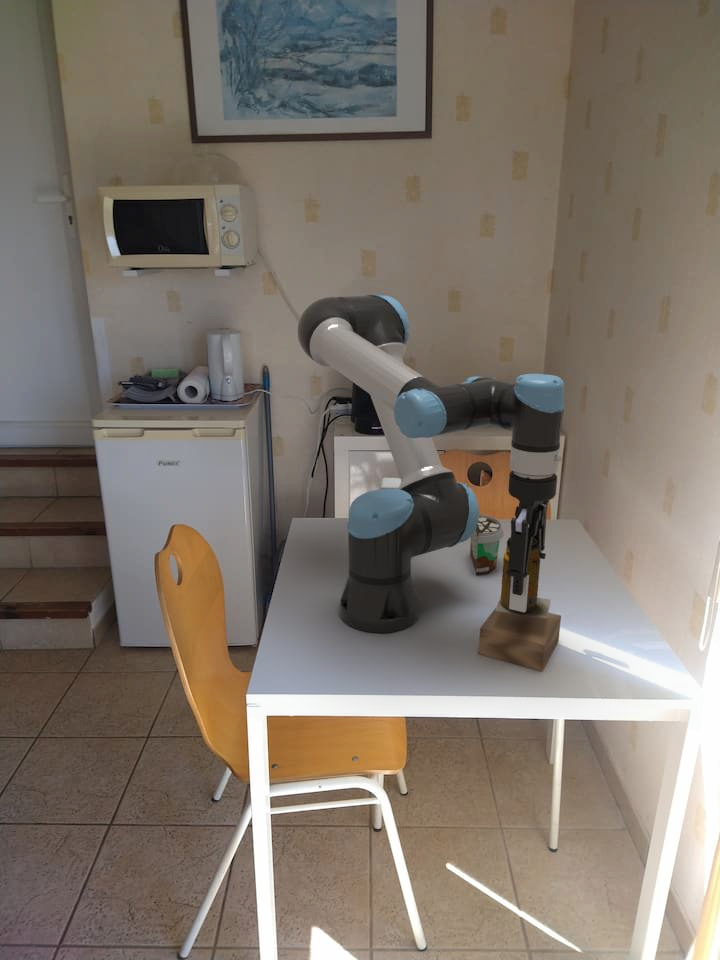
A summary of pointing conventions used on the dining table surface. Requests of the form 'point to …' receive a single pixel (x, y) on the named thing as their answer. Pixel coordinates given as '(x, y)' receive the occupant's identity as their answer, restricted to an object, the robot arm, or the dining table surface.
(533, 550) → the condiment
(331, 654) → the dining table surface
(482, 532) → the food container
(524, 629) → the walnut block
